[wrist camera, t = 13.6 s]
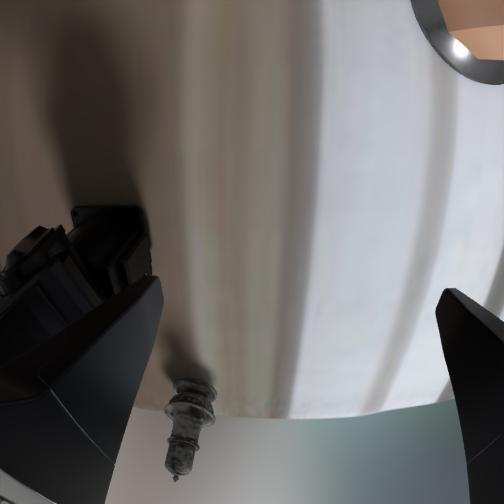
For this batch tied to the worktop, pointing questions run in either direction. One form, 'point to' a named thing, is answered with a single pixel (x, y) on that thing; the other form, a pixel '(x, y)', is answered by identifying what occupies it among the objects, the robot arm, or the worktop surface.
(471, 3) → the tan rounded cylinder
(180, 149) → the worktop surface
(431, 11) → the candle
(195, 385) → the grey turned figure
